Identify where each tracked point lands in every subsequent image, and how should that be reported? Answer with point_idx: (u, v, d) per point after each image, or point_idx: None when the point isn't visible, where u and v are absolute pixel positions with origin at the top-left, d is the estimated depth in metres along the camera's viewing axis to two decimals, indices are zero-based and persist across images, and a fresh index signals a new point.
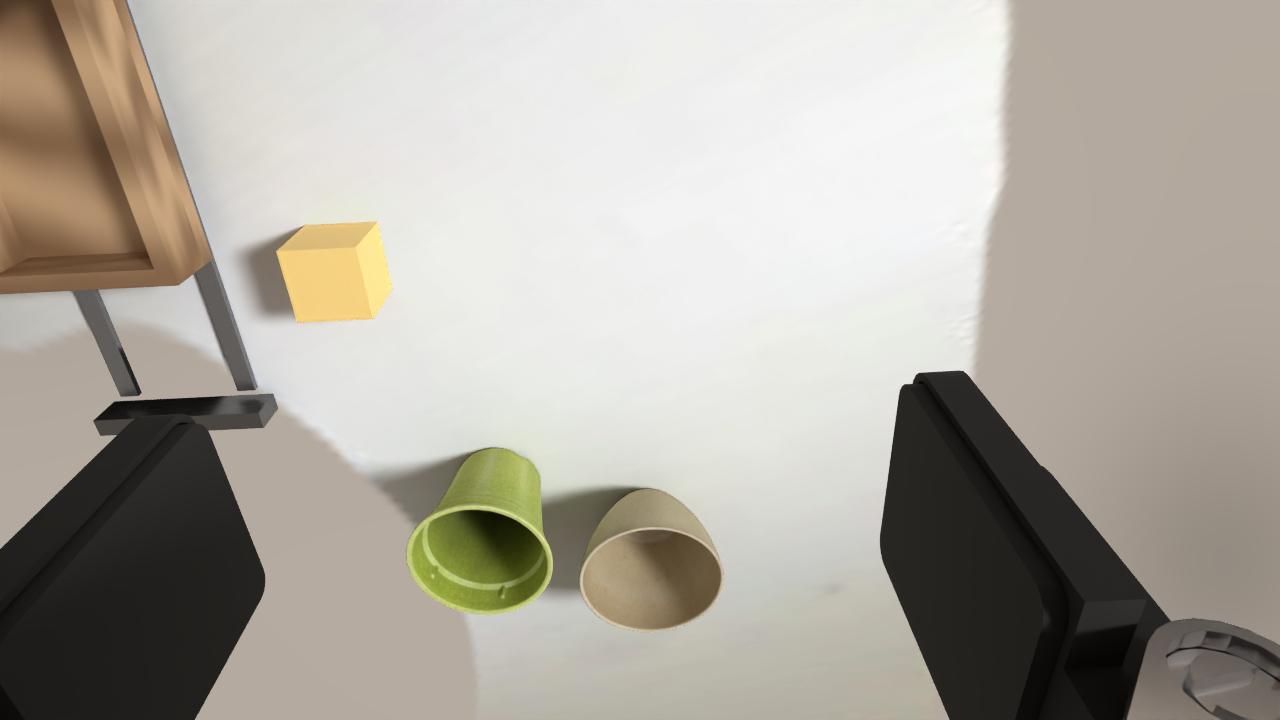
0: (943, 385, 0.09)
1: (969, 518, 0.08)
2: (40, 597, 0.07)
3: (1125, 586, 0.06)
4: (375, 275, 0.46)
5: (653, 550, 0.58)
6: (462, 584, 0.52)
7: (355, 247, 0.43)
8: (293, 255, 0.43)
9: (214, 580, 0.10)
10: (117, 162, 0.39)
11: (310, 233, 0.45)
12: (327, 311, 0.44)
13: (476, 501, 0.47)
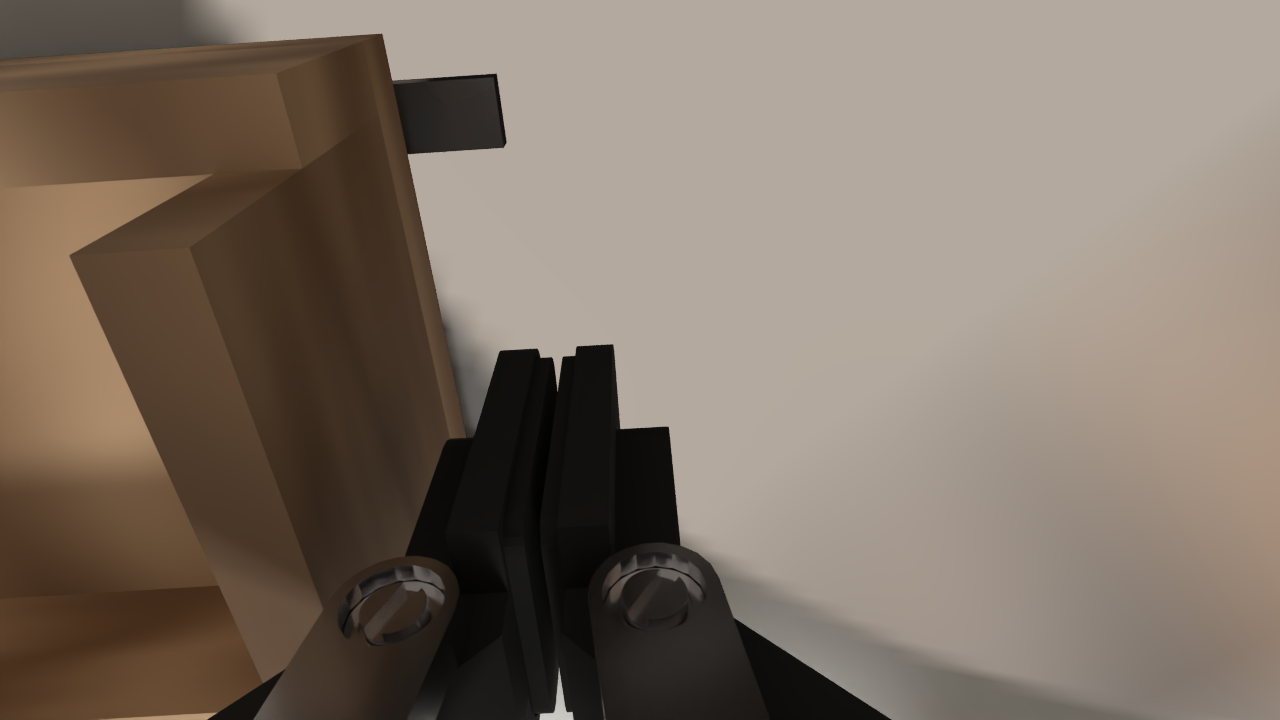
0: (585, 356, 0.10)
1: None
2: (525, 487, 0.08)
3: (599, 514, 0.07)
4: None
5: None
6: None
7: None
8: None
9: None
10: None
11: None
12: None
13: None
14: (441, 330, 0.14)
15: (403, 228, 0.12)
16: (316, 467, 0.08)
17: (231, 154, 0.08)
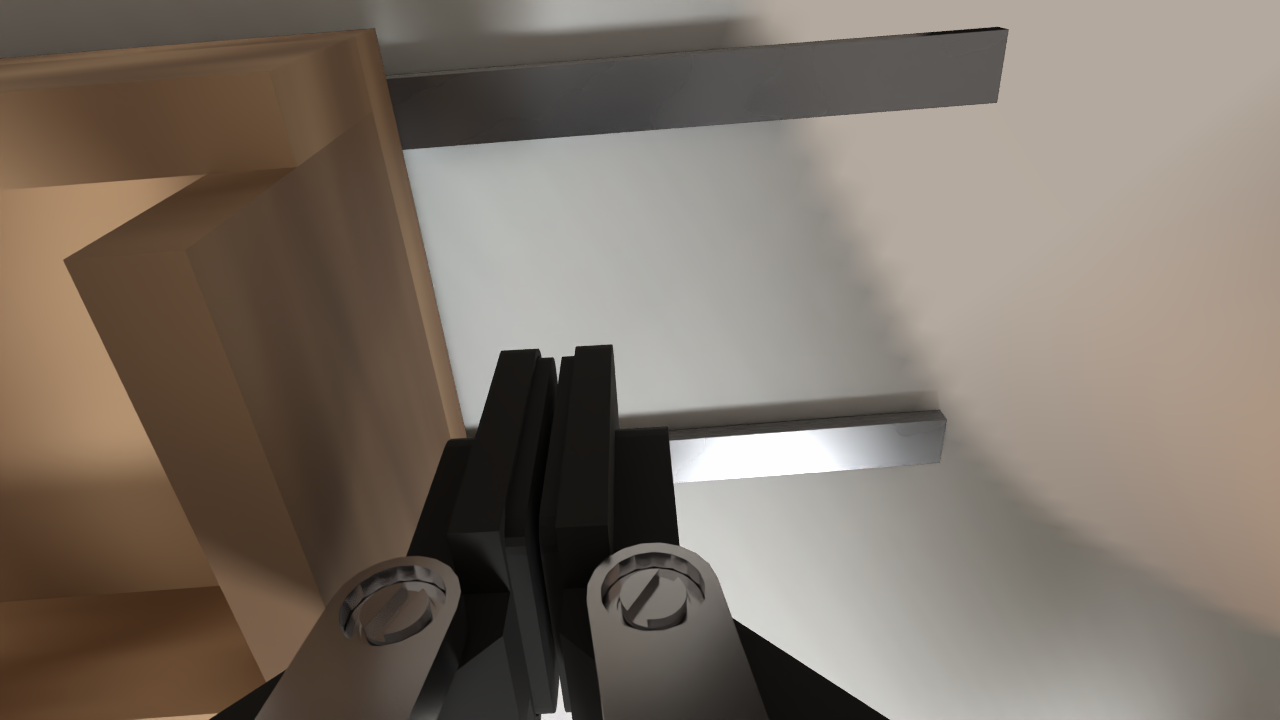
0: (584, 356, 0.10)
1: None
2: (526, 487, 0.08)
3: (597, 515, 0.07)
4: None
5: None
6: None
7: None
8: None
9: None
10: None
11: None
12: None
13: None
14: (439, 327, 0.14)
15: (399, 225, 0.12)
16: (316, 468, 0.08)
17: (225, 153, 0.08)
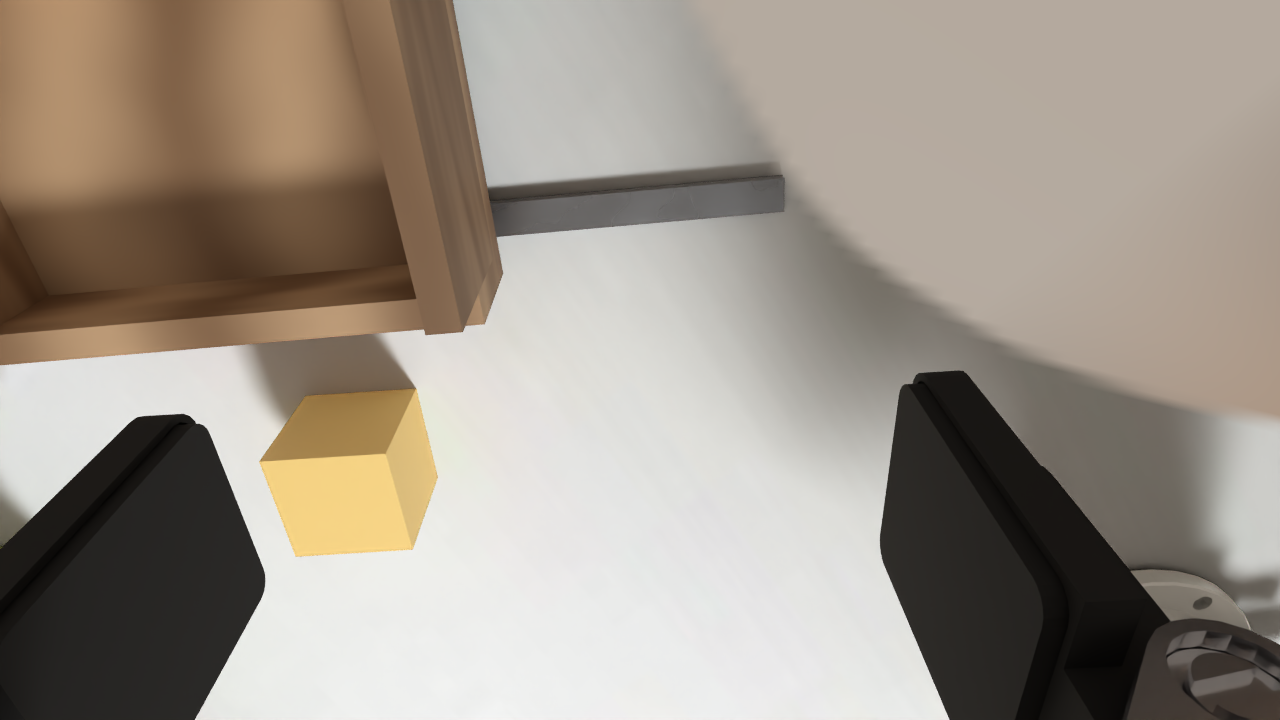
0: (943, 385, 0.09)
1: (969, 518, 0.08)
2: (40, 597, 0.07)
3: (1125, 586, 0.06)
4: None
5: None
6: None
7: None
8: (382, 474, 0.27)
9: (214, 580, 0.10)
10: (177, 326, 0.23)
11: (411, 430, 0.29)
12: (292, 503, 0.28)
13: None
14: (468, 92, 0.23)
15: (448, 16, 0.21)
16: (417, 84, 0.18)
17: None
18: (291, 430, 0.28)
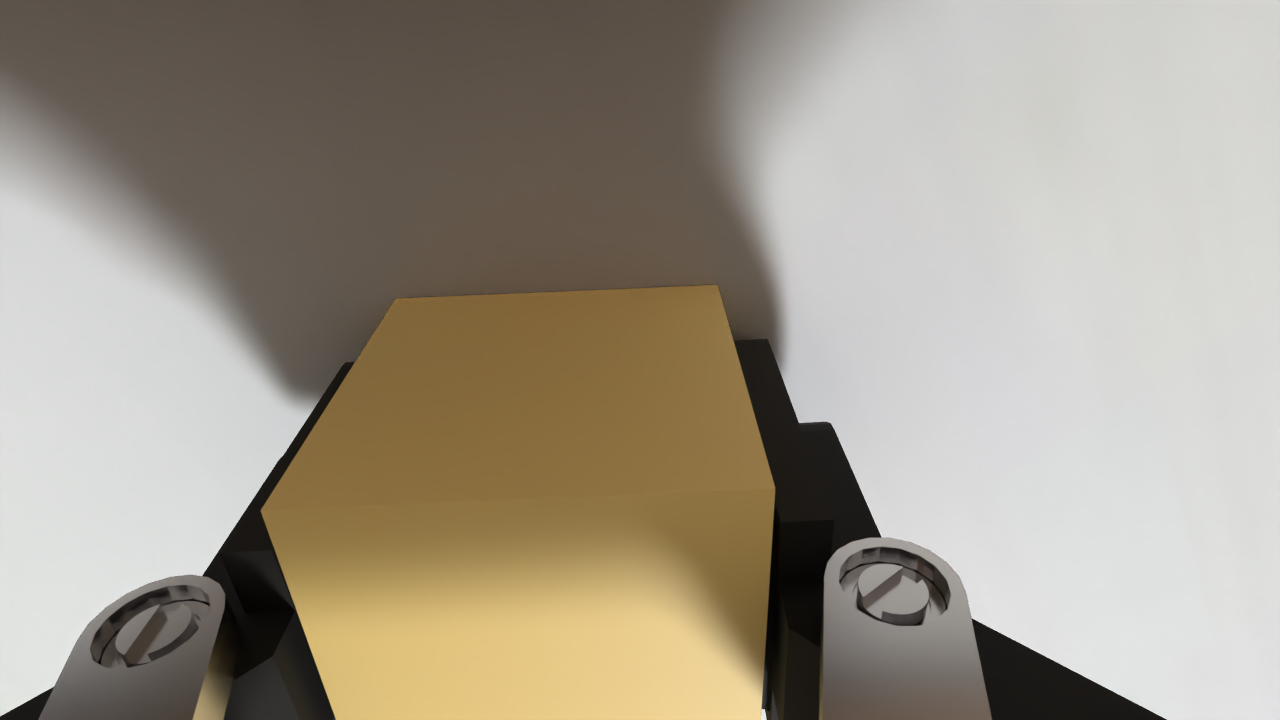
0: (743, 350, 0.10)
1: None
2: None
3: (820, 510, 0.07)
4: None
5: None
6: None
7: None
8: (735, 566, 0.07)
9: None
10: None
11: None
12: (378, 658, 0.08)
13: None
14: None
15: None
16: None
17: None
18: (370, 394, 0.08)
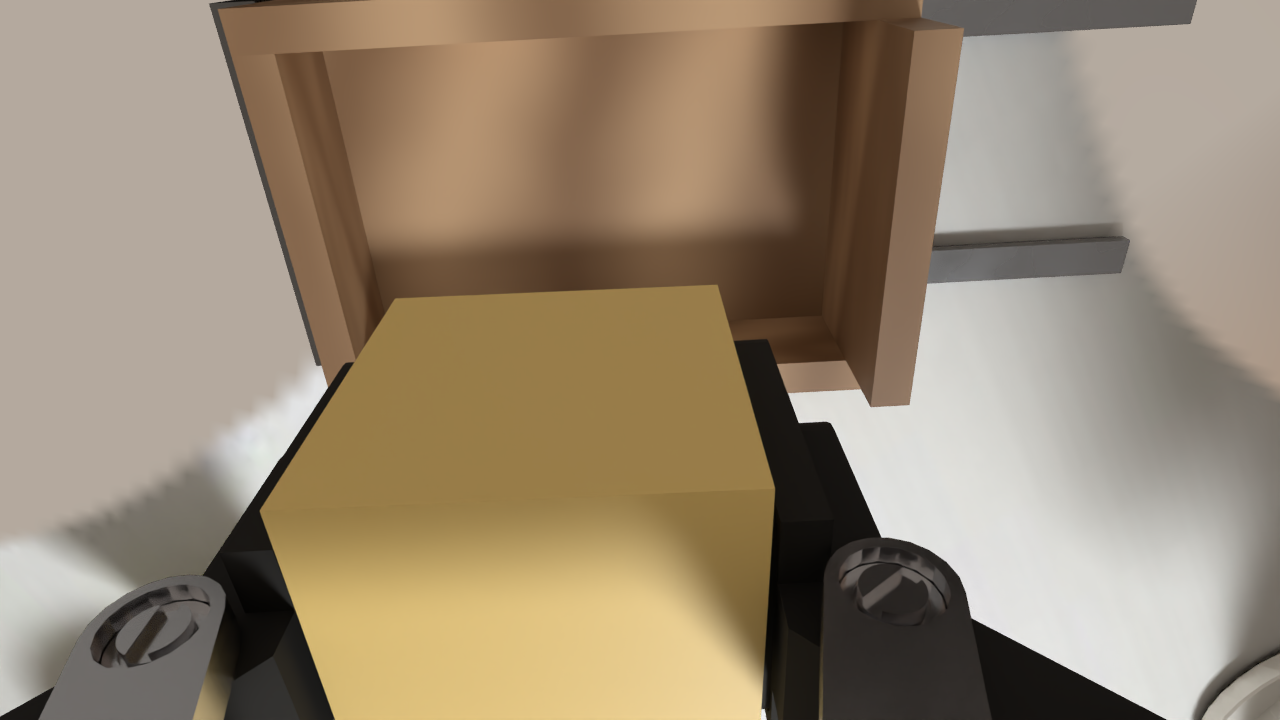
0: (743, 351, 0.10)
1: None
2: None
3: (820, 509, 0.07)
4: None
5: None
6: None
7: None
8: (735, 566, 0.07)
9: None
10: None
11: None
12: (377, 658, 0.08)
13: None
14: None
15: None
16: None
17: (890, 9, 0.17)
18: (369, 394, 0.08)
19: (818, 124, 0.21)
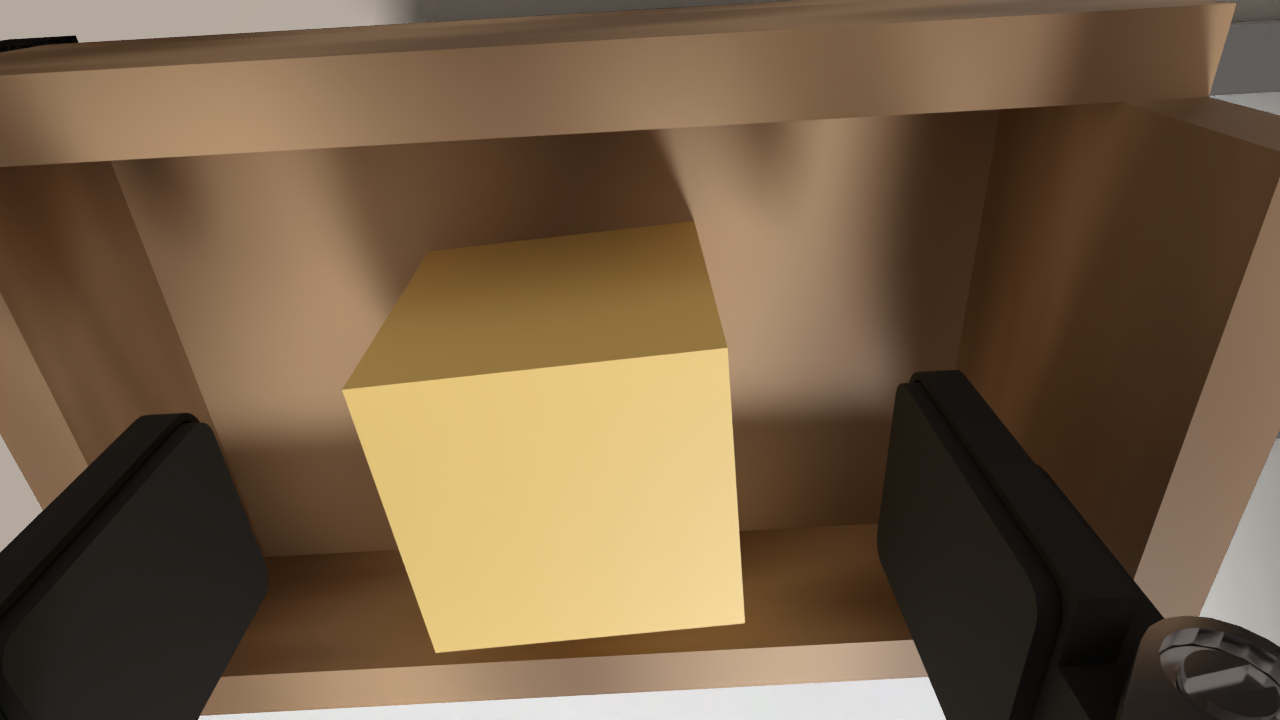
0: (939, 384, 0.09)
1: (964, 516, 0.08)
2: (46, 594, 0.07)
3: (1118, 582, 0.06)
4: None
5: None
6: None
7: (744, 622, 0.11)
8: (704, 416, 0.09)
9: (218, 578, 0.10)
10: (529, 668, 0.13)
11: None
12: (435, 512, 0.10)
13: None
14: None
15: None
16: None
17: (1151, 82, 0.09)
18: (415, 315, 0.10)
19: (947, 249, 0.13)
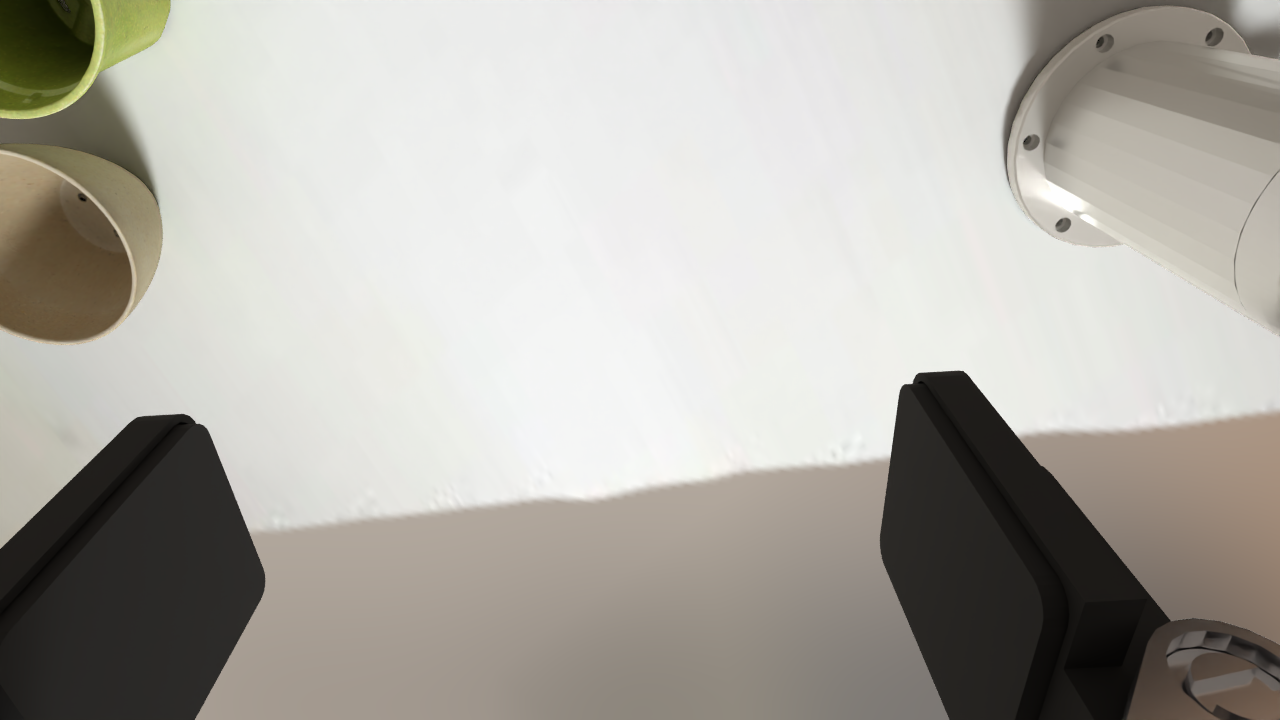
0: (943, 385, 0.09)
1: (969, 518, 0.08)
2: (40, 597, 0.07)
3: (1124, 585, 0.06)
4: None
5: (53, 221, 0.41)
6: None
7: None
8: None
9: (214, 580, 0.10)
10: None
11: None
12: None
13: None
14: None
15: None
16: None
17: None
18: None
19: None
